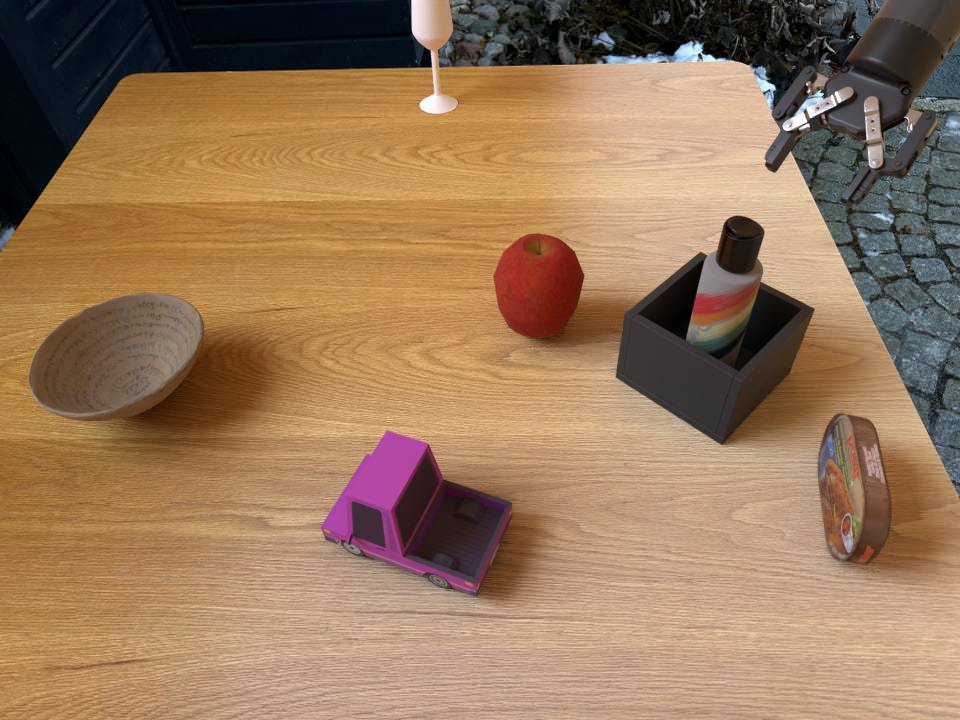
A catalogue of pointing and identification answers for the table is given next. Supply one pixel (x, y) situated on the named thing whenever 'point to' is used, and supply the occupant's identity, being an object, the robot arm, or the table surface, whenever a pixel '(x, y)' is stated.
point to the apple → (538, 285)
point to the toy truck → (418, 517)
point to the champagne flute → (433, 46)
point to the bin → (694, 373)
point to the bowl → (117, 357)
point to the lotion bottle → (727, 290)
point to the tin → (853, 490)
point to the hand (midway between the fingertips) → (806, 186)
